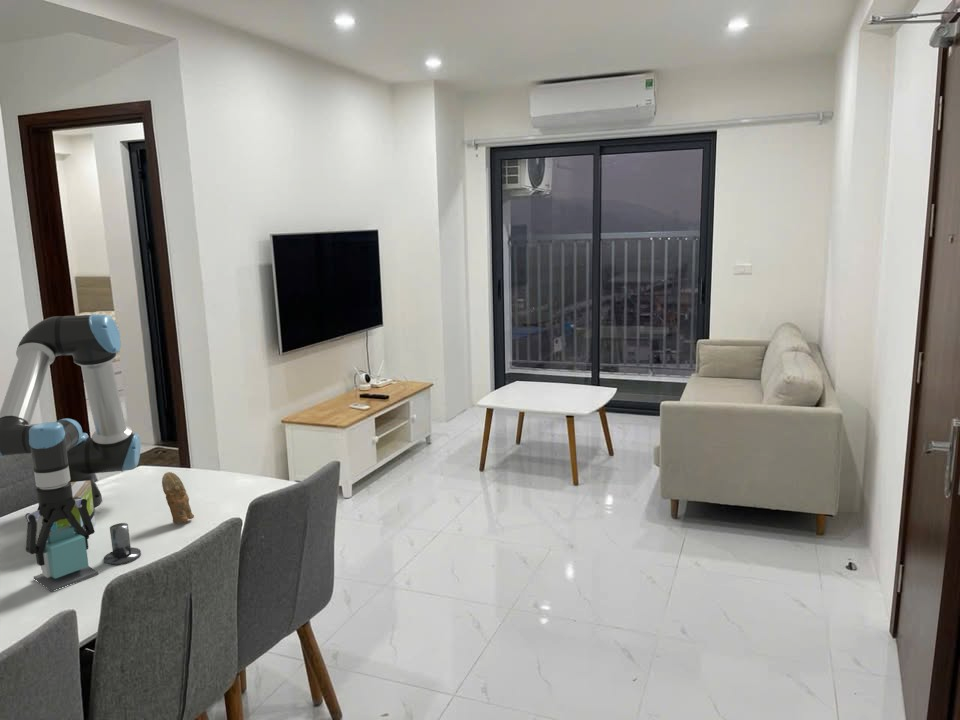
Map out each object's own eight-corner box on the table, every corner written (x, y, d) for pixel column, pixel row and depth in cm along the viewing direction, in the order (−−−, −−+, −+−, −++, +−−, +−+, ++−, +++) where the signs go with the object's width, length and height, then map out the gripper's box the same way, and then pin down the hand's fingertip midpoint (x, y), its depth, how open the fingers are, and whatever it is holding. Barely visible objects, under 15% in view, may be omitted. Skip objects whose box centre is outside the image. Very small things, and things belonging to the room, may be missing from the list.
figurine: (185, 526, 211) (180, 478, 209) (161, 525, 213) (156, 477, 210) (201, 515, 219) (197, 469, 217) (178, 514, 221) (173, 468, 218)
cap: (74, 558, 186) (69, 521, 184) (88, 566, 182) (83, 528, 180) (41, 569, 180) (36, 531, 178) (55, 578, 175) (49, 539, 173)
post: (97, 559, 191) (93, 528, 189) (130, 547, 198) (127, 517, 196) (114, 568, 185) (110, 536, 184) (147, 555, 192) (143, 524, 191)
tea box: (84, 545, 200) (78, 496, 197) (44, 550, 197) (37, 500, 194) (96, 525, 214) (90, 478, 211) (59, 529, 211) (53, 482, 209)
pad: (33, 579, 180) (33, 576, 180) (78, 563, 189) (78, 560, 189) (52, 591, 174) (52, 588, 173) (98, 574, 182) (98, 571, 182)
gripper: (89, 470, 187) (99, 550, 191) (0, 494, 171) (13, 581, 175) (103, 475, 183) (113, 557, 187) (13, 500, 166) (26, 589, 170)
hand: (65, 568), depth 181 cm, fingers closed on cap, 8 cm apart
